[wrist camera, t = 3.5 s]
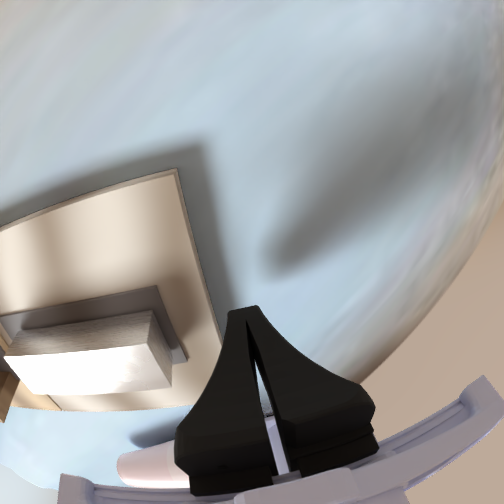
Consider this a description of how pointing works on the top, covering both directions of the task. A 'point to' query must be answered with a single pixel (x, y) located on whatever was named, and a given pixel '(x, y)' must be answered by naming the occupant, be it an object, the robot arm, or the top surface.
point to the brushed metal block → (94, 356)
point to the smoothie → (152, 468)
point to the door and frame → (109, 286)
